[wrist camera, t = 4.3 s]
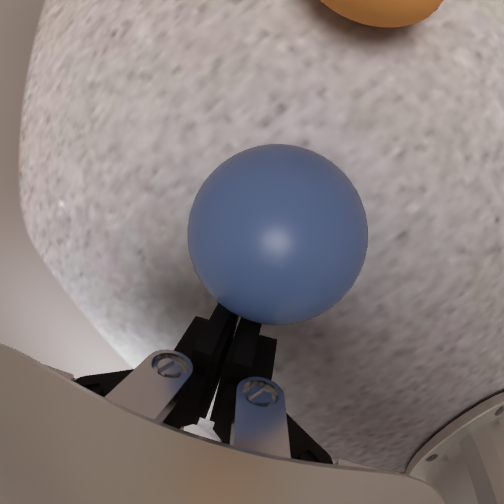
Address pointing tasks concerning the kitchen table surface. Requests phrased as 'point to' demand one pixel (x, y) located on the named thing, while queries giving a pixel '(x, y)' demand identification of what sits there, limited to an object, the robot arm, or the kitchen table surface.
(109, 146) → the kitchen table surface
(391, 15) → the object ball
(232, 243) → the blue ball
